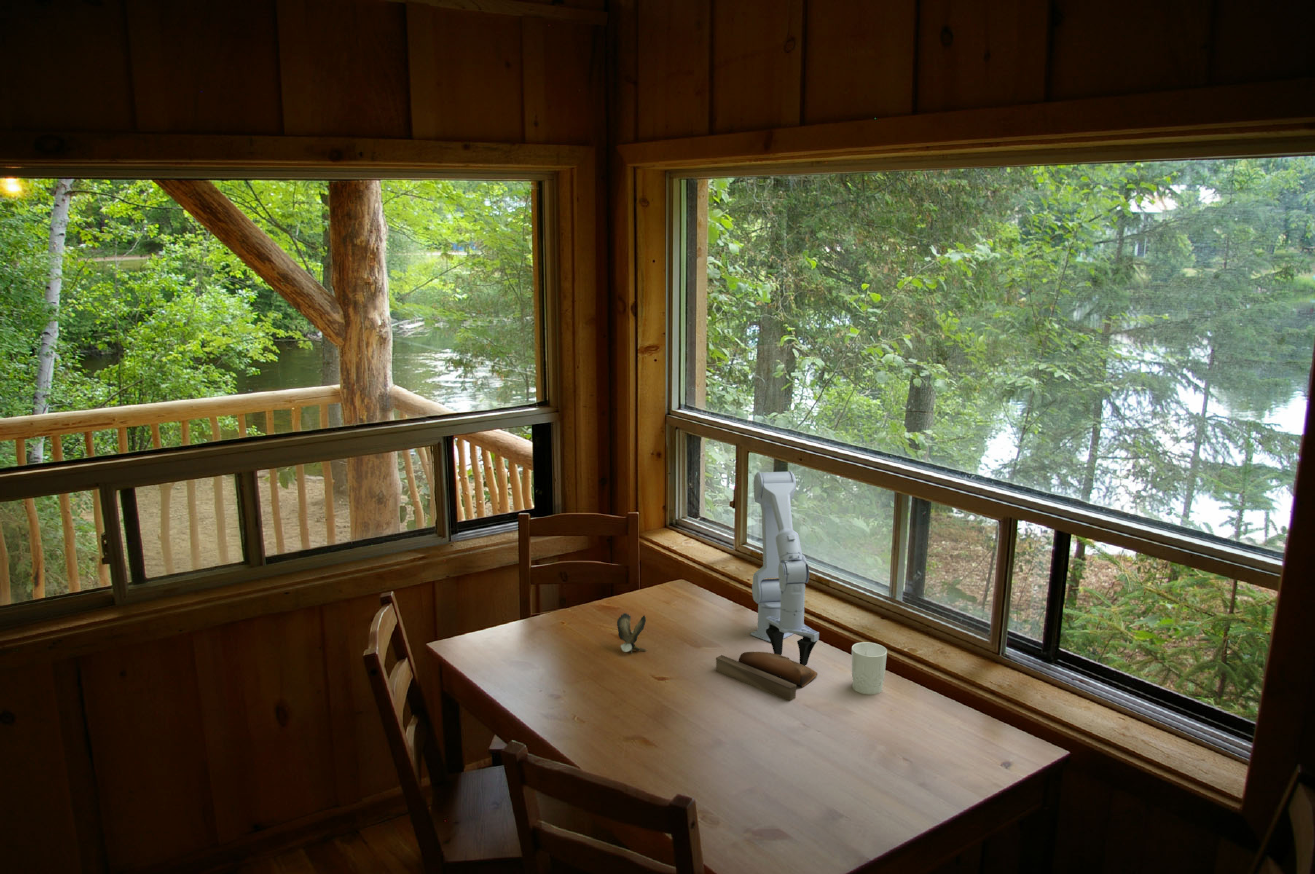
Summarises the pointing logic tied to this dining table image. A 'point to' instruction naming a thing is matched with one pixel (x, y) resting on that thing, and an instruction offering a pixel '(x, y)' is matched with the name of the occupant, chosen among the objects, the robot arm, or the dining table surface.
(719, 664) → the walnut stop rail
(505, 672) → the dining table surface
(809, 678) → the sunglasses case
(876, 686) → the white cup
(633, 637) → the eagle figurine
